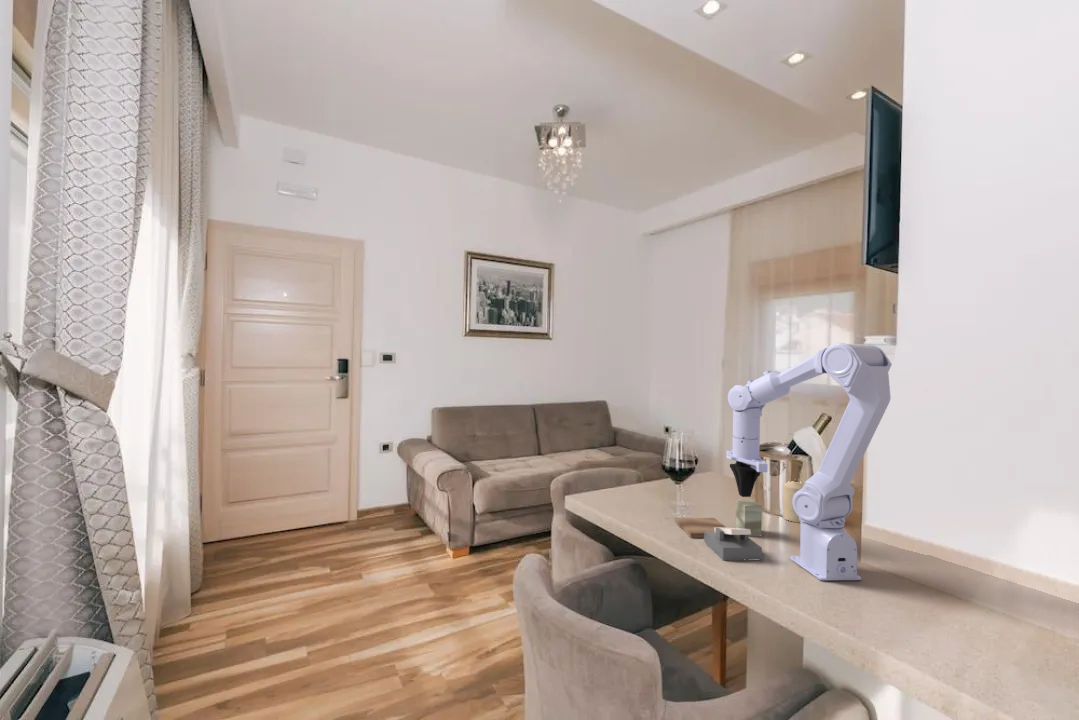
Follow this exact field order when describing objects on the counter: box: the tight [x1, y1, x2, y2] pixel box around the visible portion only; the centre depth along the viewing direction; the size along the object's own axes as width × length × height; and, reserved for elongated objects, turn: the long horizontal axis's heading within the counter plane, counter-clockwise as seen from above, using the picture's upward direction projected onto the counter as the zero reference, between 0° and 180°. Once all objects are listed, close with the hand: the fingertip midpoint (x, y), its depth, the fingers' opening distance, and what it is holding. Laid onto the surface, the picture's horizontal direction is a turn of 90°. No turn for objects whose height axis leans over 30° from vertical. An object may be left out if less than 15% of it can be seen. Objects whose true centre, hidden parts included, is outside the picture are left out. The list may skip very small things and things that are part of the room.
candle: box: [782, 480, 805, 524], centre depth 116 cm, size 6×6×10 cm
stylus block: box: [735, 499, 763, 537], centre depth 106 cm, size 4×4×7 cm
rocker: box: [714, 526, 751, 535], centre depth 95 cm, size 8×4×1 cm, turn 3°
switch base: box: [703, 528, 763, 561], centre depth 95 cm, size 9×8×4 cm
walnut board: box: [674, 517, 726, 539], centre depth 107 cm, size 10×10×1 cm
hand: (744, 496), depth 104 cm, fingers closed
